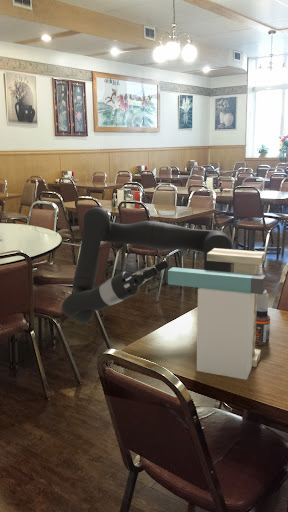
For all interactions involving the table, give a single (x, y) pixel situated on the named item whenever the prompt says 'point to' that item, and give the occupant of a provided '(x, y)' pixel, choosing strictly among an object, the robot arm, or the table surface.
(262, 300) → the can
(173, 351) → the table surface
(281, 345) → the table surface
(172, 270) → the teal bar
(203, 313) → the base pedestal
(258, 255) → the beige wooden column stand
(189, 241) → the robot arm
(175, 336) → the table surface
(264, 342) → the supplement bottle
